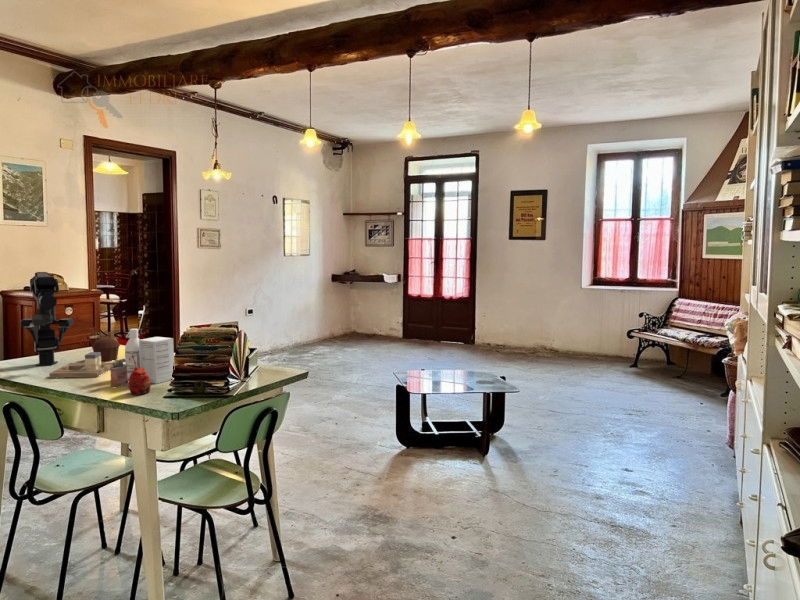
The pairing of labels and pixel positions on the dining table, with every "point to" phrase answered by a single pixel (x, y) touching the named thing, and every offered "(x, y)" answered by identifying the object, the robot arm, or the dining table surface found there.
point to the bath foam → (132, 348)
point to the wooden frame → (80, 370)
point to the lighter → (119, 373)
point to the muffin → (106, 348)
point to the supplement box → (157, 358)
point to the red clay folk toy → (139, 380)
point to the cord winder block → (93, 361)
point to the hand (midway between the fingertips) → (48, 342)
